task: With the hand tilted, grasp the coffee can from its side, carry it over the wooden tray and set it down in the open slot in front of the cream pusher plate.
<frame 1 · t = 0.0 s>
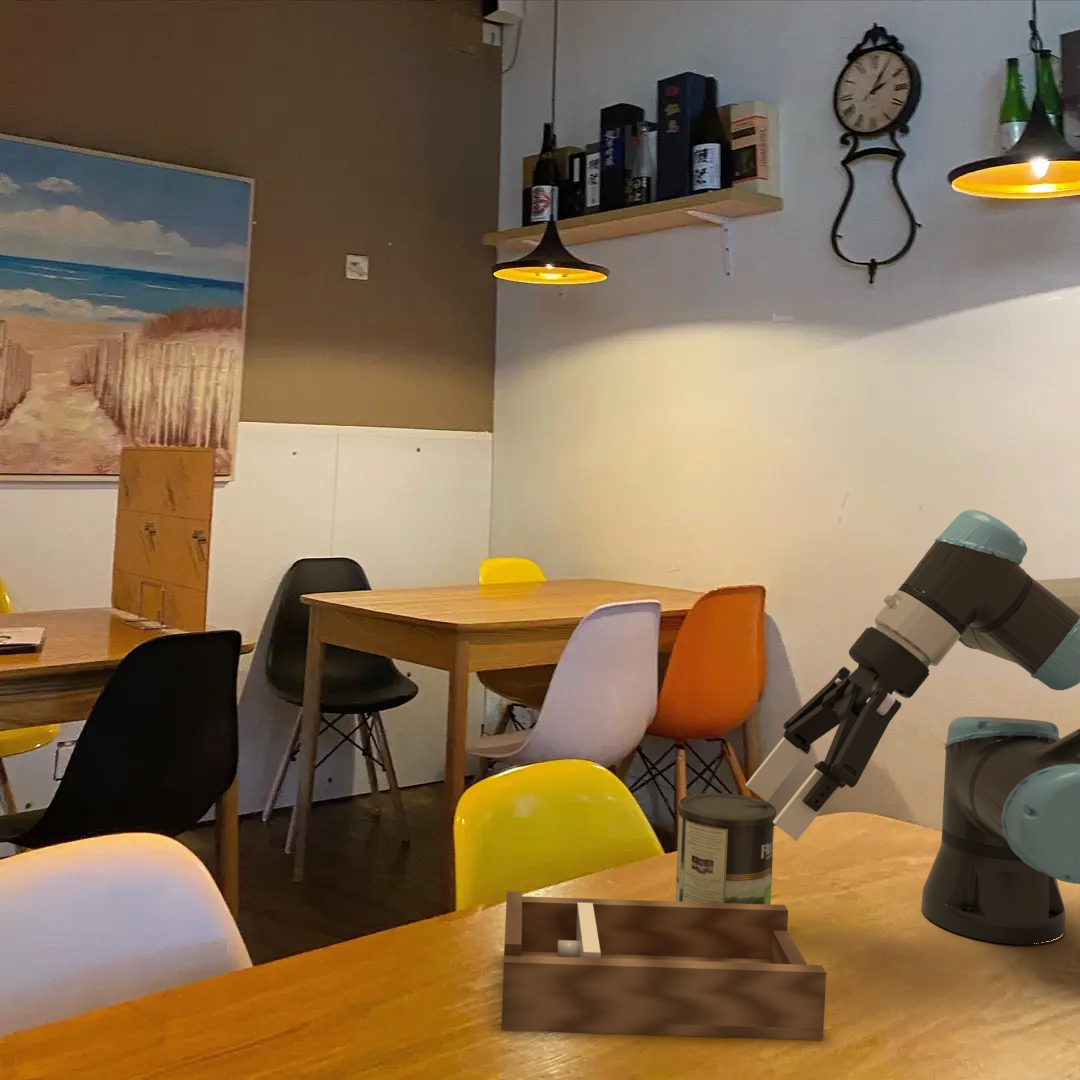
hand: (769, 811, 116), 15 cm above the table, tool tilted 35°, fingers open, 13 cm apart
pusher: (576, 952, 107), point 4 cm above the table, slide at 0.0 cm
coffee can: (720, 936, 123), on the table
wooden tray: (652, 994, 108), on the table
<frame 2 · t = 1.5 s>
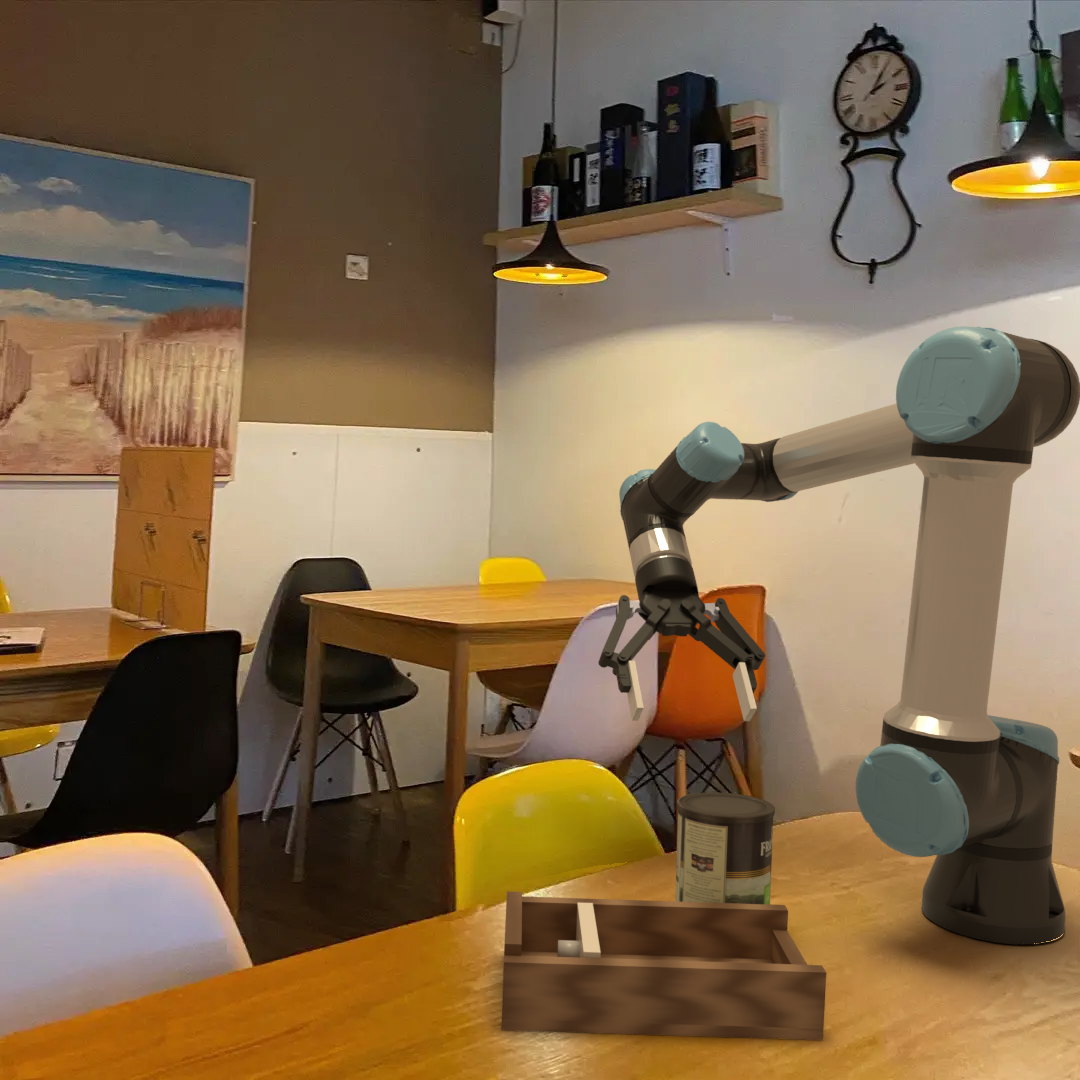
hand: (694, 714, 132), 21 cm above the table, tool tilted 45°, fingers open, 13 cm apart
nothing on the table moved.
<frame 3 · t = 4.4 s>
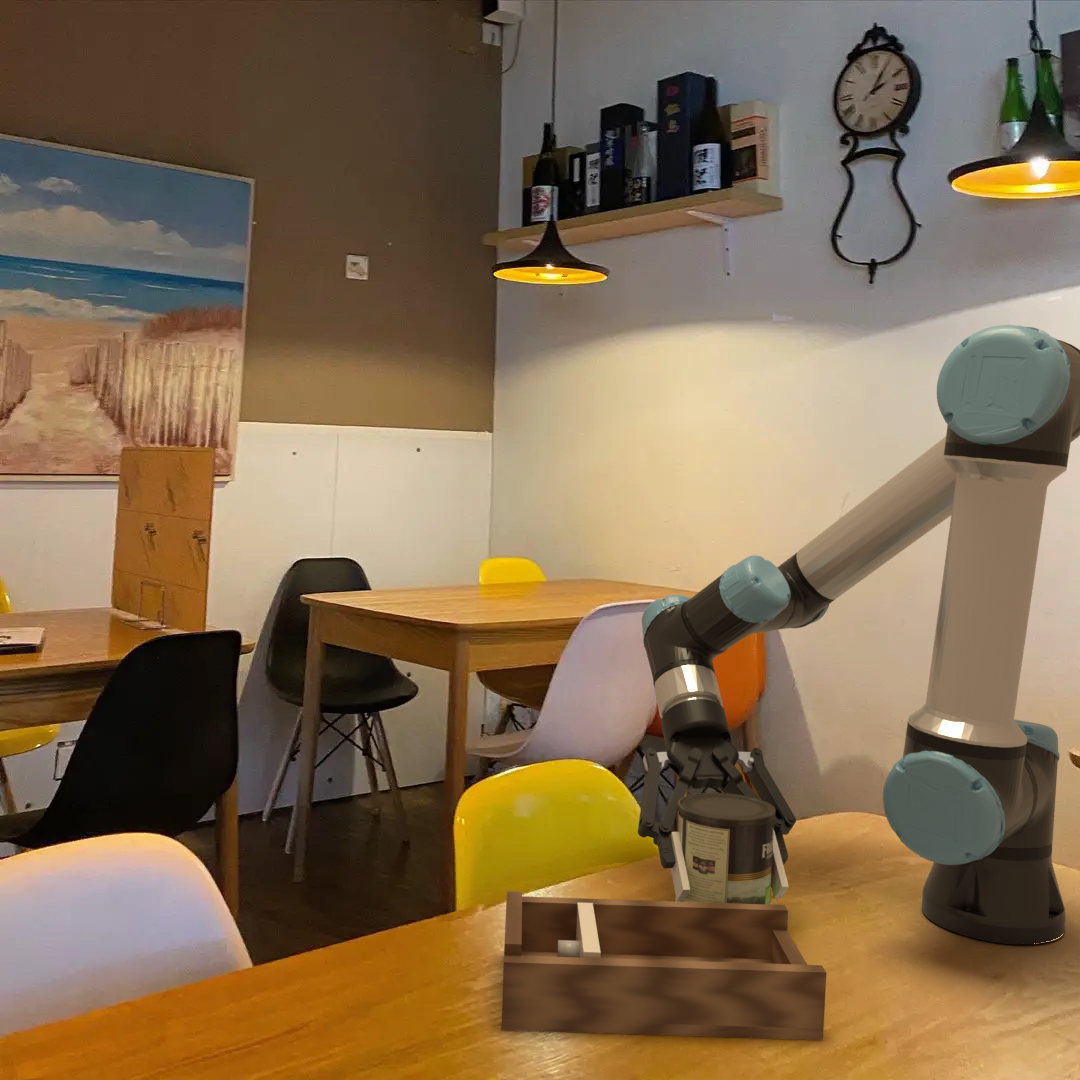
hand: (732, 894, 119), 6 cm above the table, tool tilted 45°, fingers closed on coffee can, 10 cm apart
coffee can: (720, 936, 123), on the table, touching gripper
everything else where it was.
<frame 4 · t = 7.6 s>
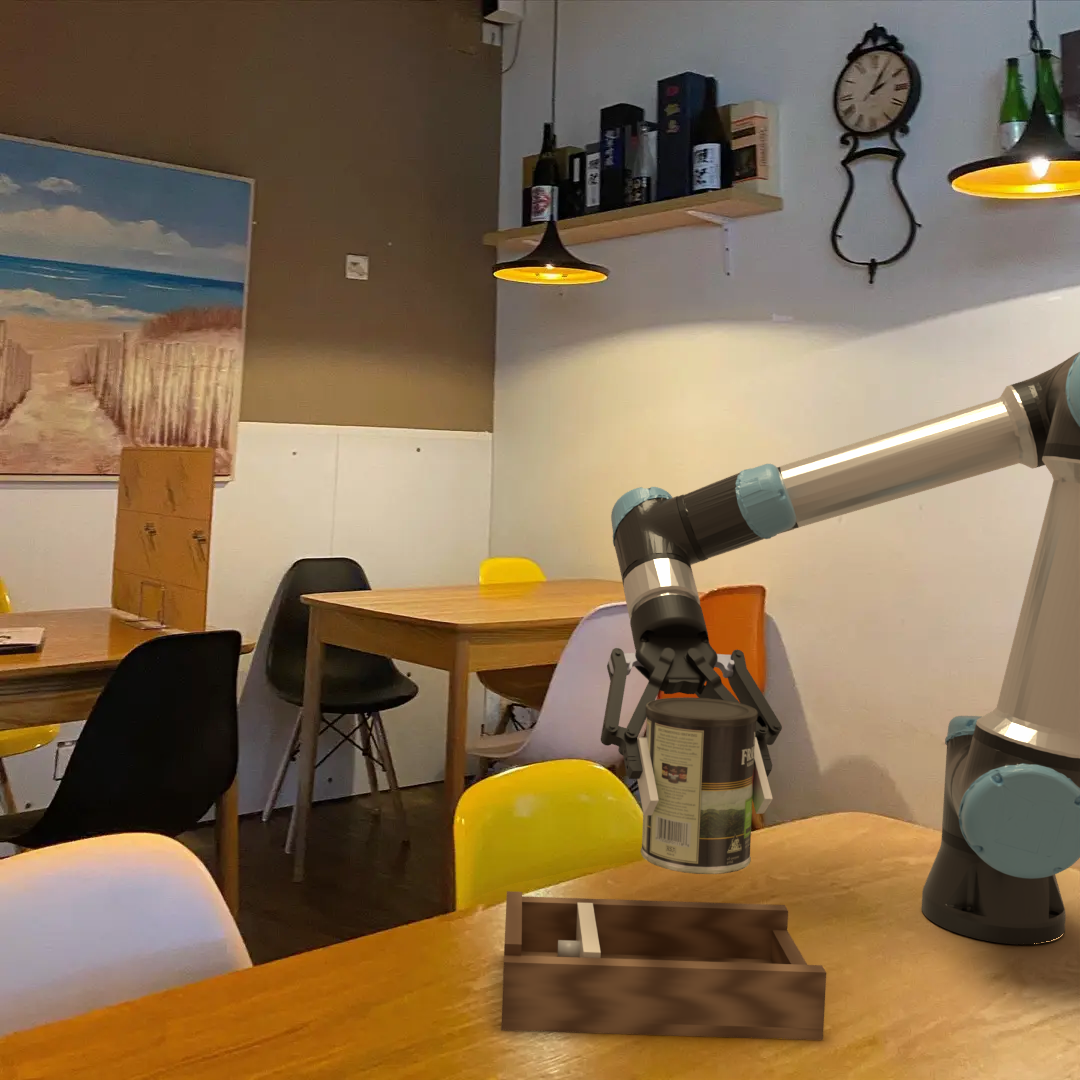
hand: (708, 807, 104), 19 cm above the table, tool tilted 45°, fingers closed on coffee can, 10 cm apart
coffee can: (694, 858, 107), point 13 cm above the table, touching gripper
everything else where it was.
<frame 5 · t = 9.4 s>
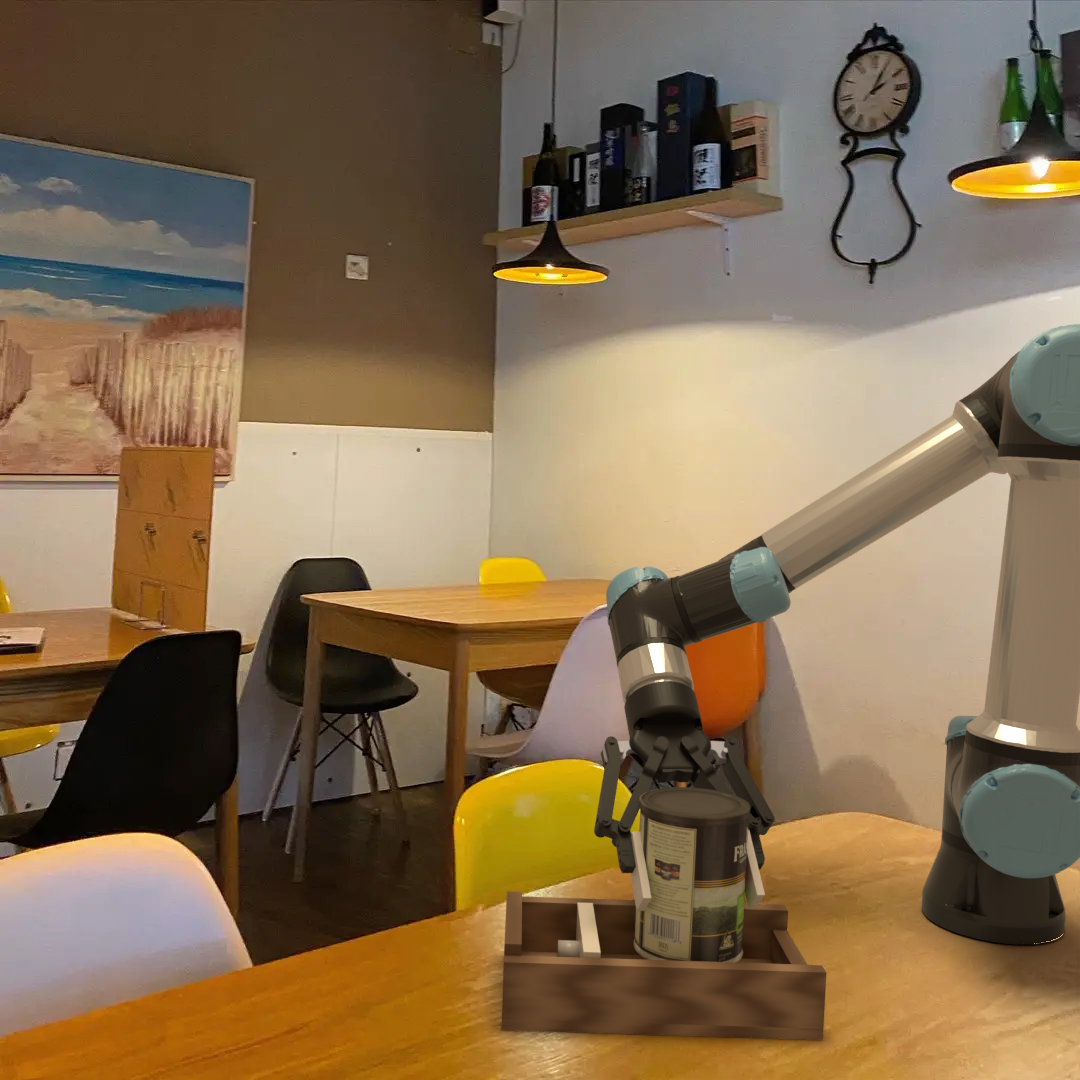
hand: (700, 903, 104), 10 cm above the table, tool tilted 45°, fingers closed on coffee can, 10 cm apart
coffee can: (687, 951, 108), point 4 cm above the table, touching gripper
everything else where it was.
when the fingers open (8 cm above the table, at t = 10.6 s): coffee can drops 1 cm, resting on wooden tray.
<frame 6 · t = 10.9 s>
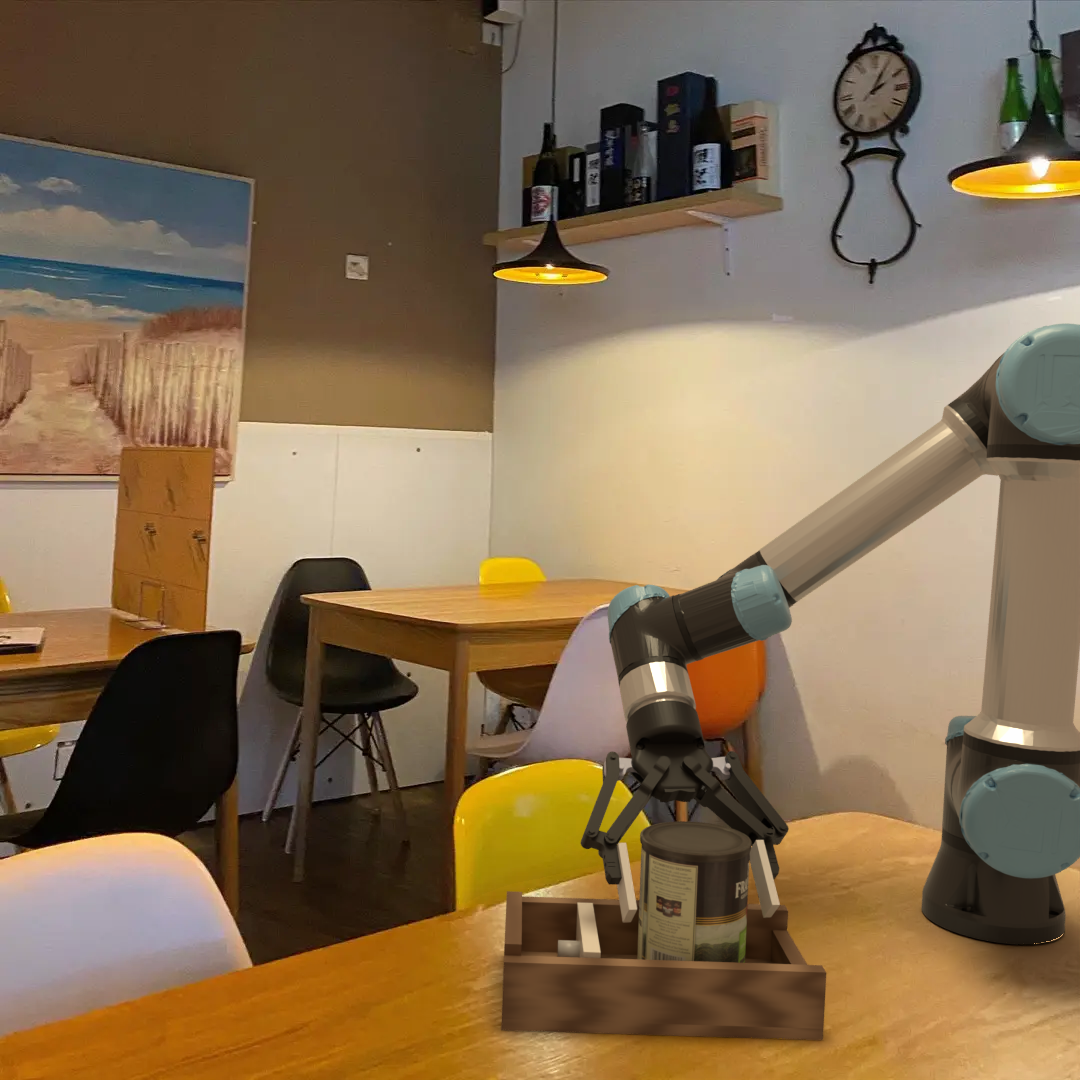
hand: (701, 914, 105), 9 cm above the table, tool tilted 45°, fingers open, 13 cm apart
coffee can: (689, 986, 108), point 1 cm above the table, touching wooden tray
everything else where it was.
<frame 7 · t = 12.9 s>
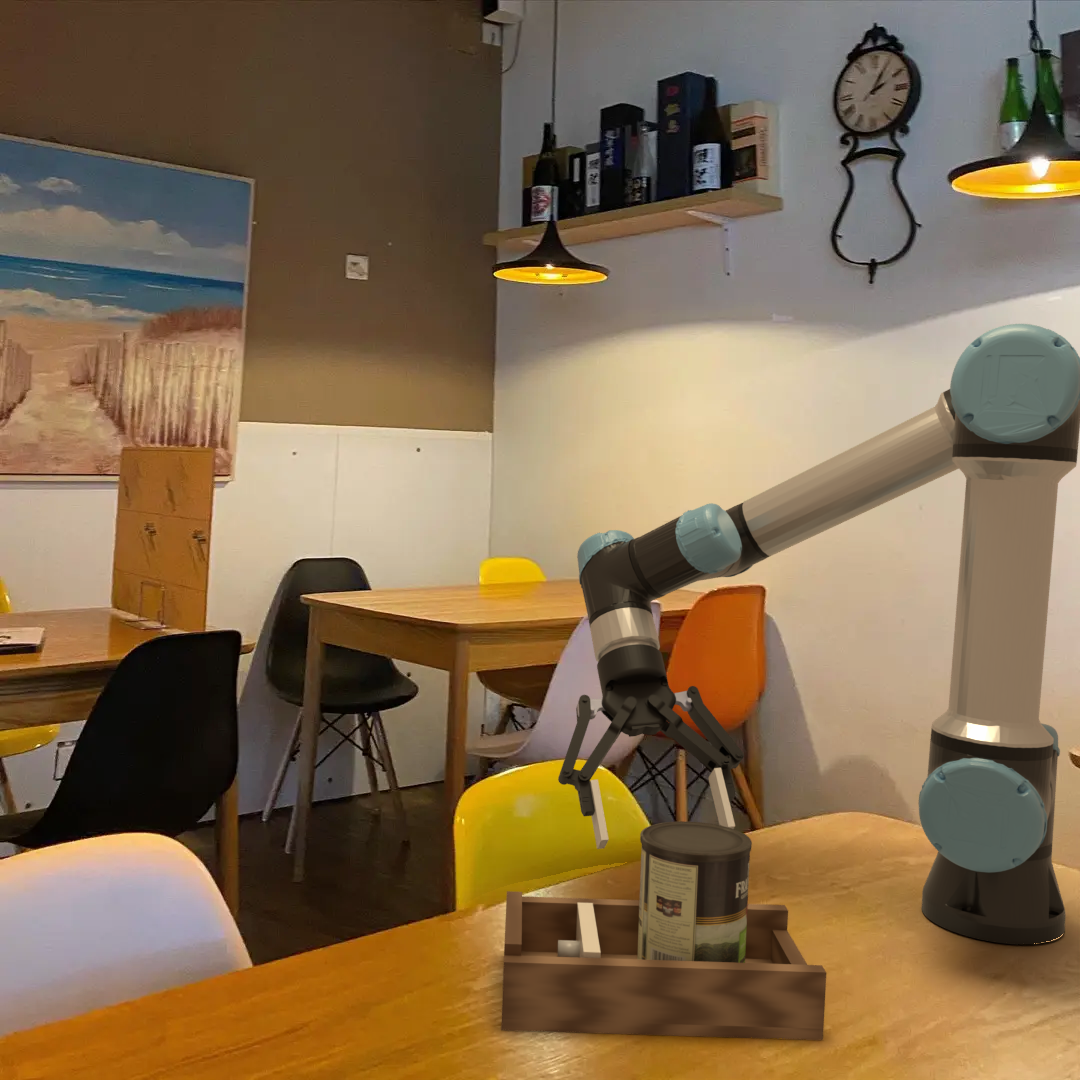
hand: (666, 838, 120), 11 cm above the table, tool tilted 35°, fingers open, 13 cm apart
nothing on the table moved.
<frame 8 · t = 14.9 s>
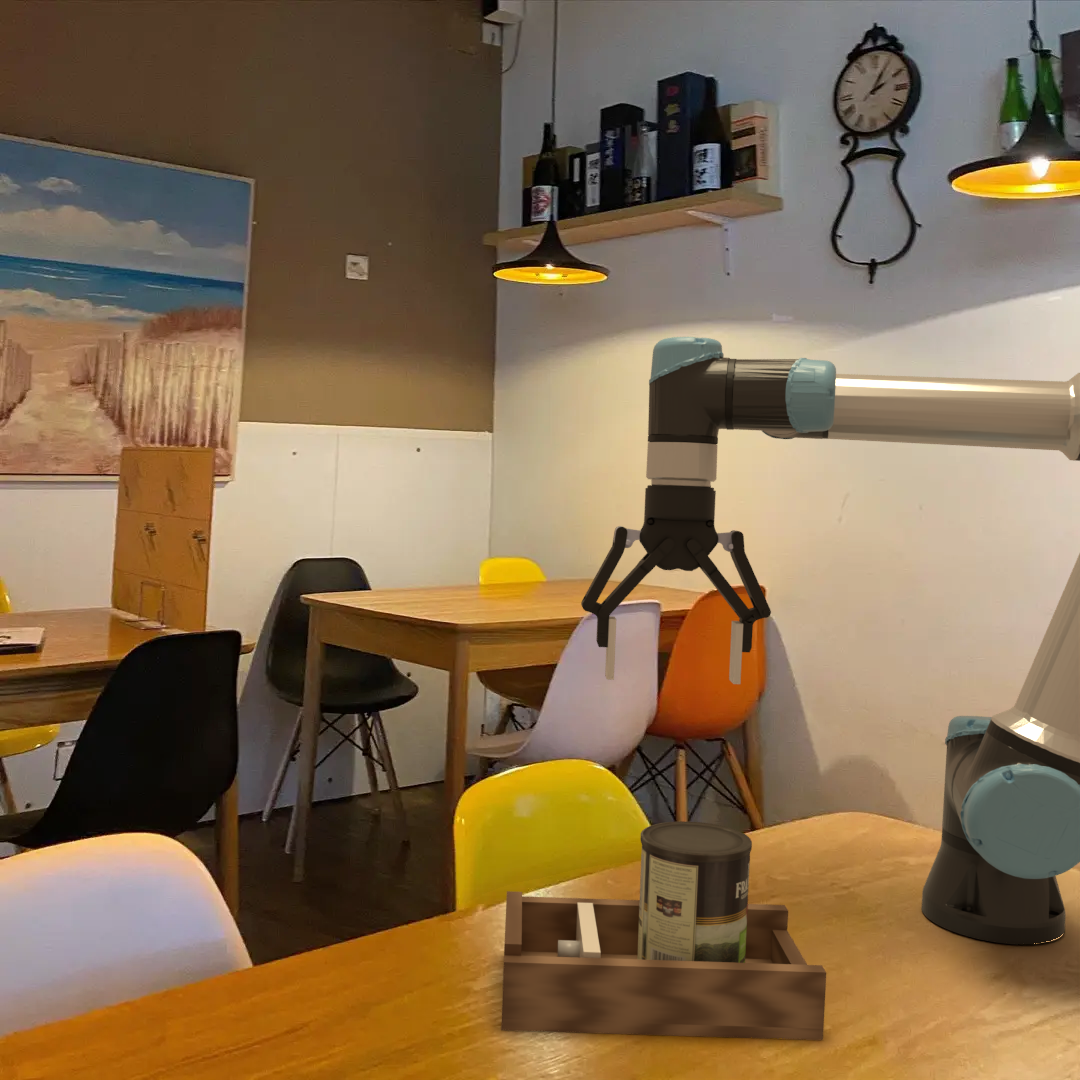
hand: (672, 680, 124), 27 cm above the table, tool pointing down, fingers open, 13 cm apart
nothing on the table moved.
at the end: coffee can inside the target area on the wooden tray (0.3 cm from its centre), point 0.8 cm above the wooden tray's base; coffee can tilted 0°; the gripper is holding nothing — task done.
